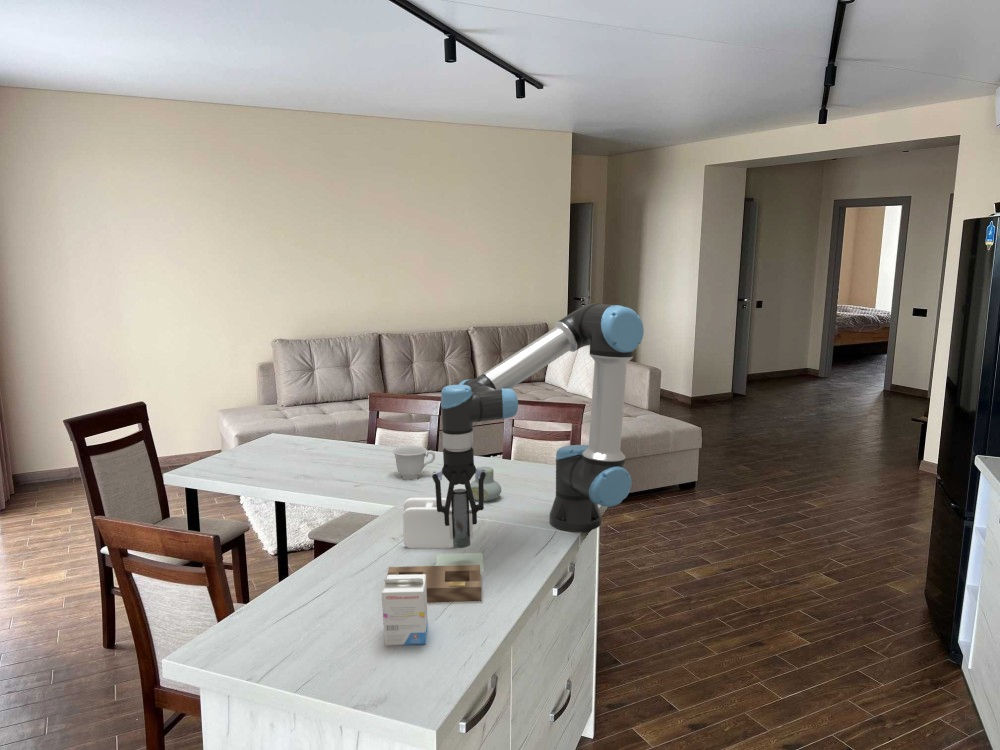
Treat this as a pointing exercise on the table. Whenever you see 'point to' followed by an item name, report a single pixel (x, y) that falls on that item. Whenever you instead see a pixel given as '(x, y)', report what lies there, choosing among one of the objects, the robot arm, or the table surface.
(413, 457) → the teacup
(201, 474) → the table surface
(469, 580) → the socket block
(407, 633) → the ink box
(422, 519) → the cable organizer
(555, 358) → the robot arm
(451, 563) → the mat
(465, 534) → the plug
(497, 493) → the air freshener
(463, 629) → the table surface
